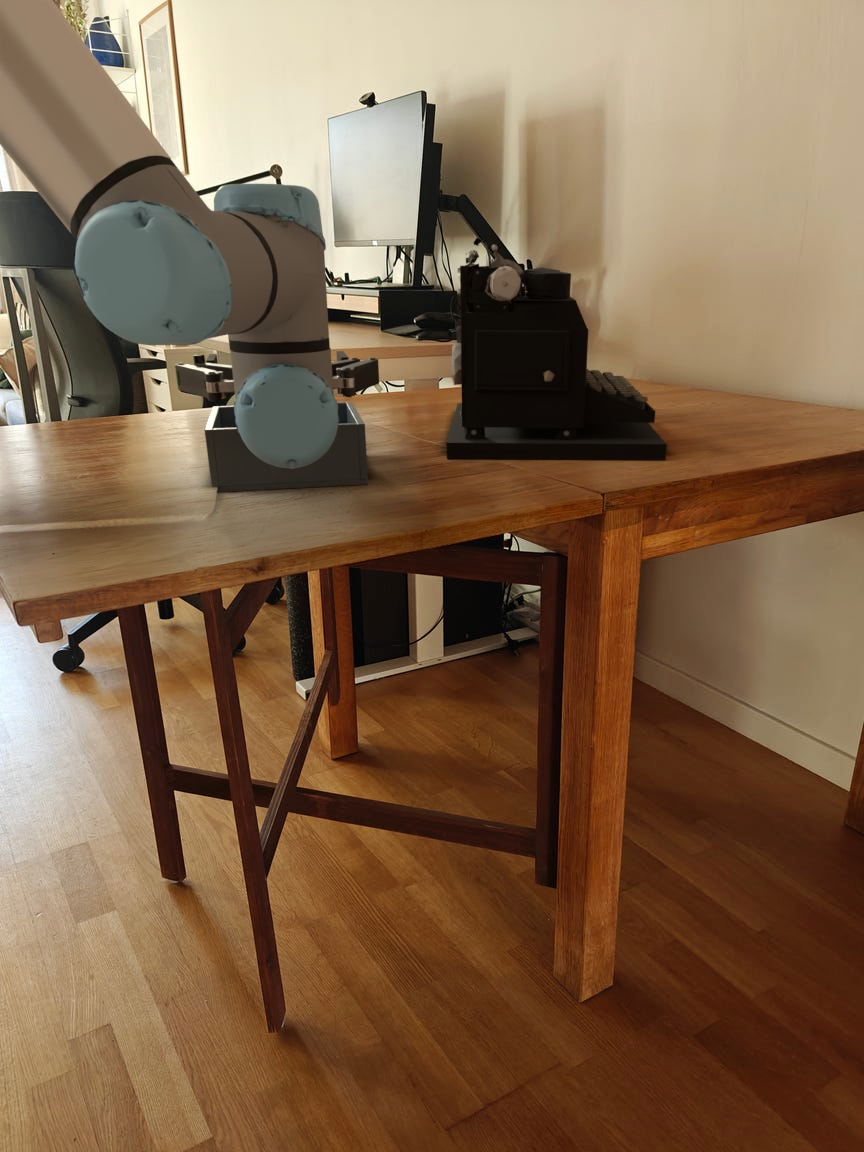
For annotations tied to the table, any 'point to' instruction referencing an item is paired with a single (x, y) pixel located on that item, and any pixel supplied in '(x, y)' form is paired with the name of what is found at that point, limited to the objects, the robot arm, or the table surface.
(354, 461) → the bin
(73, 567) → the table surface
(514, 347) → the typewriter
